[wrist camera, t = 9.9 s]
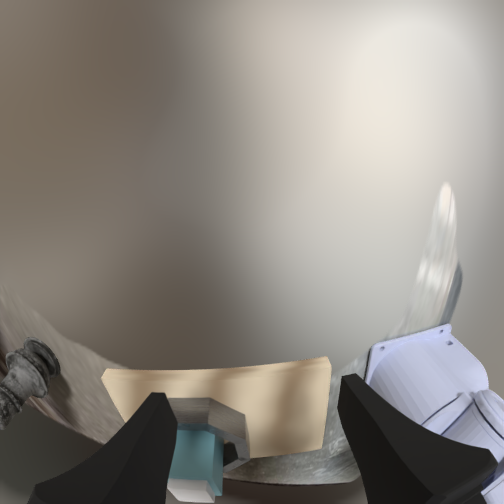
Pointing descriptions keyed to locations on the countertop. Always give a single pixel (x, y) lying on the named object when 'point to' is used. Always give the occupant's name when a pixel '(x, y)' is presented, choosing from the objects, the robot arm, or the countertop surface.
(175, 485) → the connector
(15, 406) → the salt shaker
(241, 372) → the holder dock
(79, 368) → the countertop surface
